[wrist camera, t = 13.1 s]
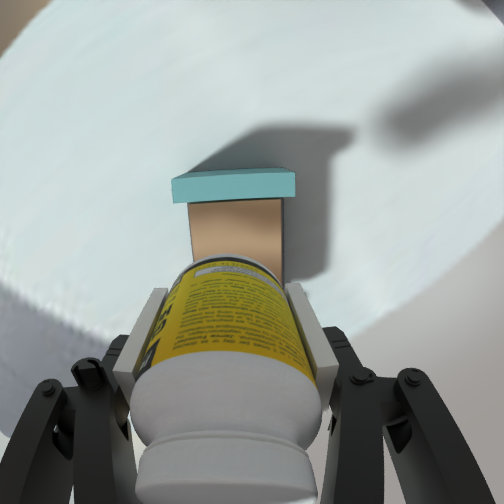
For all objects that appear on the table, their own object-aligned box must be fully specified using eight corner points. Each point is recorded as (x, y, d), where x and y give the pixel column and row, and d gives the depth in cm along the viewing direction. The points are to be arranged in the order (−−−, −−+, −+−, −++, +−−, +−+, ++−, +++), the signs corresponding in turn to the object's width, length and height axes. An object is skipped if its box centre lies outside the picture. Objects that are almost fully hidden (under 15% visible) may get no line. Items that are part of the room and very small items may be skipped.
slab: (191, 200, 26) (188, 204, 24) (277, 195, 26) (280, 199, 24) (205, 319, 30) (204, 329, 28) (278, 315, 30) (280, 325, 29)
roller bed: (186, 172, 28) (171, 179, 22) (281, 167, 28) (295, 172, 22) (206, 344, 36) (202, 381, 29) (281, 340, 36) (290, 377, 30)
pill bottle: (165, 250, 14) (58, 437, 3) (287, 249, 14) (387, 442, 4) (177, 347, 16) (143, 522, 5) (280, 347, 16) (321, 522, 6)
